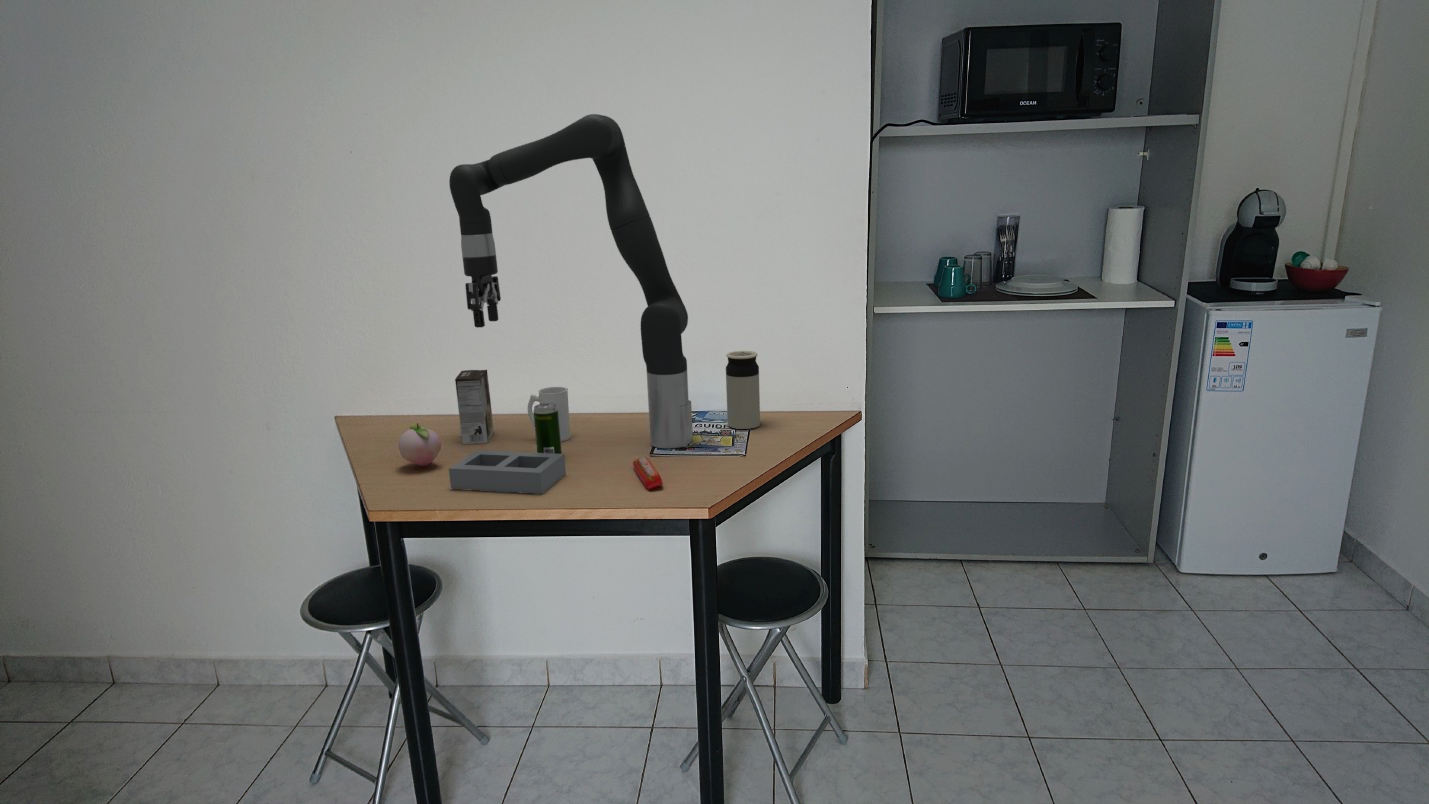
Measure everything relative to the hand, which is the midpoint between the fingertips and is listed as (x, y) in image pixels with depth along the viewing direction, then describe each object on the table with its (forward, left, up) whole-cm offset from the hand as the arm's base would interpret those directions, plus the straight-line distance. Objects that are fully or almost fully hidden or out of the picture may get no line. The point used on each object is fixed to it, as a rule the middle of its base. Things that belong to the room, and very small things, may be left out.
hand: (487, 324), depth 210 cm
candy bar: (-45, +23, -28) cm, 58 cm away
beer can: (-19, +13, -28) cm, 36 cm away
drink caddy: (-17, +29, -28) cm, 43 cm away
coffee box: (+5, +1, -28) cm, 29 cm away
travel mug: (-57, -17, -28) cm, 66 cm away
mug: (-13, -1, -28) cm, 31 cm away
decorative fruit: (+7, +23, -28) cm, 37 cm away
